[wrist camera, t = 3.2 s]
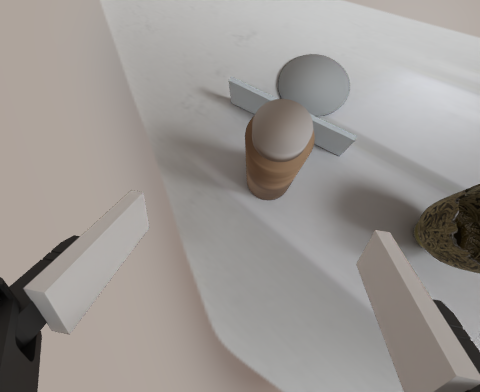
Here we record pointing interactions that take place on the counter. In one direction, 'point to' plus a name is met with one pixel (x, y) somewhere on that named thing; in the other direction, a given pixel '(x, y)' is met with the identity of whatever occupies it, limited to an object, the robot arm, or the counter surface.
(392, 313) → the robot arm
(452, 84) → the counter surface
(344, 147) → the acrylic wall
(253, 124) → the pepper mill
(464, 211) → the cup
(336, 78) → the coaster
